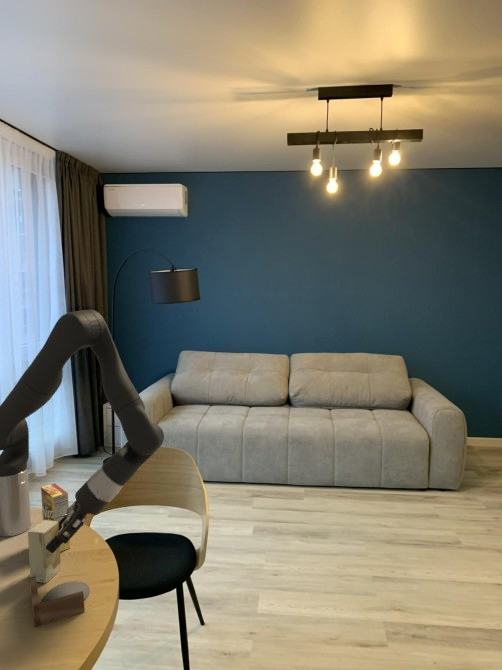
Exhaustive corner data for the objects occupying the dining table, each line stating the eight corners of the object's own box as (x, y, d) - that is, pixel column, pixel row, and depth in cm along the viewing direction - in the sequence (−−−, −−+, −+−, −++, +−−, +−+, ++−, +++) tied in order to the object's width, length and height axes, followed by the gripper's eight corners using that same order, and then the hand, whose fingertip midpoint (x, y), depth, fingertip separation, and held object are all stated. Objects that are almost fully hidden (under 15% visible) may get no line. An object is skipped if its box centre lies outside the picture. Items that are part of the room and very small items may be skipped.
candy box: (43, 541, 132) (39, 487, 130) (58, 535, 135) (55, 482, 133) (55, 554, 125) (52, 497, 124) (72, 547, 128) (68, 492, 127)
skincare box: (46, 584, 113) (43, 533, 111) (29, 582, 114) (26, 532, 112) (62, 568, 119) (59, 520, 118) (46, 566, 120) (43, 519, 119)
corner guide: (30, 594, 109) (29, 577, 109) (76, 581, 114) (75, 565, 113) (34, 627, 98) (33, 608, 98) (84, 611, 103) (83, 594, 102)
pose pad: (48, 585, 112) (48, 584, 112) (92, 579, 114) (92, 578, 114) (39, 613, 103) (39, 611, 103) (86, 606, 105) (86, 604, 105)
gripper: (91, 469, 123) (46, 517, 122) (84, 492, 109) (33, 547, 108) (114, 487, 125) (69, 535, 124) (109, 512, 111) (59, 566, 110)
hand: (52, 540), depth 116 cm, fingers open, 8 cm apart
